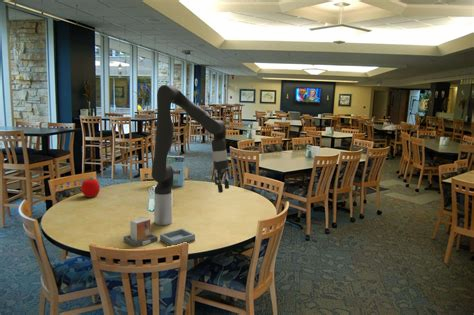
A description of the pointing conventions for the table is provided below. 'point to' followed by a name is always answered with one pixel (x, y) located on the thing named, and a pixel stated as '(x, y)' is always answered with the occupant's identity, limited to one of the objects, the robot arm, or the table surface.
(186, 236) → the tray
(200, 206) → the table surface
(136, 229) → the small box
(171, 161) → the gum box
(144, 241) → the clip holder
